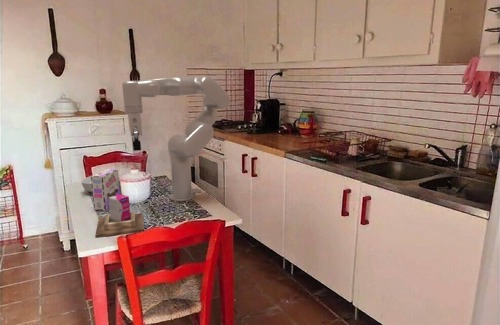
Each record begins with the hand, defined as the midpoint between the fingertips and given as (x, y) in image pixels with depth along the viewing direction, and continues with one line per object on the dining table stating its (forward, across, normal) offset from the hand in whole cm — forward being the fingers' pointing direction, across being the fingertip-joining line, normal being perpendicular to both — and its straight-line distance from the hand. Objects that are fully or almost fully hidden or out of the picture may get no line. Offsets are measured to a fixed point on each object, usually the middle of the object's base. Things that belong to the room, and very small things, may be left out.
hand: (136, 148), depth 166 cm
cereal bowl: (+28, +33, +20) cm, 48 cm away
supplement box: (+27, -19, +9) cm, 34 cm away
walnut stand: (+28, -19, +9) cm, 35 cm away
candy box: (+28, +8, +15) cm, 33 cm away
